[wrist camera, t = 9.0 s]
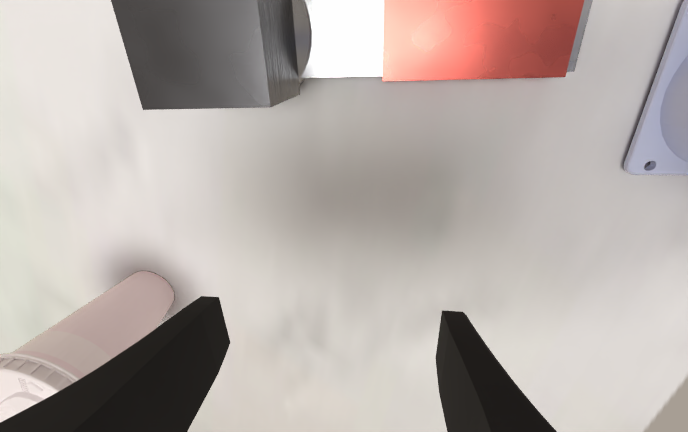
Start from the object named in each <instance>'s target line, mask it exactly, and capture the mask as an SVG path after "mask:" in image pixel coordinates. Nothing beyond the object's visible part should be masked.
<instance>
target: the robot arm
mask: <svg viewBox="0 0 688 432" xmlns="http://www.w3.org/2000/svg"><path fill="white" fill-rule="evenodd" d="M649 161H651V162H650V165H649V166H648V167H646V168H644V165H645V164H646V163H647V162H649ZM624 170H625V171H626V172H628V173H630V174H634V175H688V0H684V1H683V2H682V5H681V8H680V10H679V13H678V16H677V19H676V21H675V24H674V27H673V30H672V32H671V35H670V38H669V41H668V44H667V46H666V49H665V52H664V55H663V57H662V60H661V63H660V66H659V68H658V71H657V74H656V77H655V79H654V82H653V85H652V88H651V90H650V93H649V96H648V99H647V101H646V104H645V107H644V110H643V113H642V115H641V118H640V121H639V124H638V126H637V129H636V132H635V135H634V137H633V140H632V143H631V146H630V148H629V151H628V154H627V157H626V159H625V162H624ZM229 344H230V340H229V336H228V332H227V328H226V324H225V320H224V316H223V312H222V308H221V304H220V300H219V297H204V296H201V297H200V298H198V299H197V300H195V301H194V302H192V303H191V304H189V305H188V306H187V307H185V308H184V309H182V310H181V311H180V312H178V313H177V314H175V315H174V316H173V317H171V318H170V319H169V320H167V321H166V322H164V323H163V324H162V325H160V326H159V327H157V328H156V329H155V330H153V331H152V332H150V333H149V334H148V335H146V336H145V337H143V338H142V339H141V340H139V341H138V342H136V343H135V344H133V345H132V346H130V347H129V348H127V349H126V350H124V351H123V352H121V353H120V354H118V355H117V356H115V357H114V358H112V359H111V360H109V361H108V362H106V363H105V364H103V365H102V366H100V367H99V368H97V369H95V370H94V371H92V372H91V373H89V374H87V375H86V376H84V377H82V378H81V379H79V380H78V381H76V382H74V383H72V384H71V385H69V386H67V387H65V388H64V389H62V390H60V391H59V392H57V393H55V394H53V395H52V396H50V397H48V398H46V399H44V400H42V401H40V402H39V403H37V404H35V405H33V406H31V407H29V408H27V409H25V410H23V411H21V412H20V413H18V414H16V415H14V416H12V417H10V418H8V419H6V420H4V421H2V422H0V432H187V431H188V429H189V427H190V425H191V423H192V421H193V419H194V418H195V416H196V414H197V412H198V410H199V408H200V407H201V405H202V403H203V401H204V399H205V397H206V395H207V393H208V392H209V390H210V388H211V386H212V384H213V382H214V380H215V378H216V376H217V374H218V372H219V370H220V367H221V365H222V363H223V360H224V358H225V355H226V352H227V349H228V347H229ZM436 366H437V376H438V385H439V393H440V398H441V403H442V408H443V412H444V417H445V422H446V426H447V431H448V432H556V430H555V429H554V428H553V427H552V426H551V425H550V424H549V423H548V422H547V420H546V419H545V418H544V417H543V416H542V415H541V414H540V413H539V411H538V410H537V409H536V408H535V407H534V406H533V404H532V403H531V402H530V401H529V400H528V398H527V397H526V396H525V395H524V394H523V392H522V391H521V390H520V389H519V388H518V386H517V385H516V384H515V383H514V381H513V380H512V379H511V378H510V376H509V375H508V374H507V372H506V371H505V370H504V368H503V367H502V366H501V364H500V363H499V362H498V361H497V359H496V358H495V357H494V355H493V354H492V352H491V351H490V350H489V348H488V347H487V345H486V344H485V343H484V341H483V340H482V338H481V337H480V335H479V334H478V333H477V331H476V330H475V328H474V327H473V325H472V324H471V322H470V320H469V319H468V317H467V316H466V315H465V314H464V313H463V312H455V311H442V316H441V323H440V331H439V338H438V345H437V353H436Z"/></svg>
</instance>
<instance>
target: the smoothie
mask: <svg viewBox="0 0 688 432" xmlns="http://www.w3.org/2000/svg"><path fill="white" fill-rule="evenodd" d="M173 302H174V292H173V289H172V287H171V286H170V284H169V283H168V282H167V281H166V280H165V279H163V278H162V277H161V276H159V275H157V274H155V273H152V272H148V271H139V272H136V273H134V274H132V275H131V276H129V277H128V278H126V279H125V280H123V281H122V282H120V283H118V284H117V285H115V286H114V287H112V288H111V289H109V290H108V291H106V292H105V293H103V294H101V295H100V296H98V297H97V298H95V299H94V300H92V301H91V302H89V303H88V304H86V305H85V306H83V307H81V308H80V309H78V310H77V311H75V312H74V313H72V314H71V315H69V316H68V317H66V318H64V319H63V320H61V321H60V322H58V323H57V324H55V325H54V326H52V327H51V328H49V329H48V330H46V331H44V332H43V333H41V334H39V335H38V336H36V337H35V338H33V339H32V340H30V341H29V342H27V343H26V344H24V345H23V346H21V347H20V348H18V349H17V350H15V351H14V352H12V353H5V354H0V422H2V421H4V420H6V419H8V418H10V417H12V416H14V415H16V414H18V413H20V412H21V411H23V410H25V409H27V408H29V407H31V406H33V405H35V404H37V403H39V402H40V401H42V400H44V399H46V398H48V397H50V396H52V395H53V394H55V393H57V392H59V391H60V390H62V389H64V388H65V387H67V386H69V385H71V384H72V383H74V382H76V381H78V380H79V379H81V378H82V377H84V376H86V375H87V374H89V373H91V372H92V371H94V370H95V369H97V368H99V367H100V366H102V365H103V364H105V363H106V362H108V361H109V360H111V359H112V358H114V357H115V356H117V355H118V354H120V353H121V352H123V351H124V350H126V349H127V348H129V347H130V346H132V345H133V344H135V343H136V342H138V341H139V340H141V339H142V338H143V337H145V336H146V335H148V334H149V333H150V332H152V331H153V330H155V329H156V328H157V327H158V325H159V323H160V322H161V320H162V319H163V317H164V316H165V314H166V313H167V311H168V310H169V308H170V307H171V305H172V303H173Z"/></svg>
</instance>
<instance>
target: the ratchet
mask: <svg viewBox="0 0 688 432" xmlns="http://www.w3.org/2000/svg"><path fill="white" fill-rule="evenodd" d="M591 4H592V0H292V7H293V18H294V30H295V41H296V53H297V65H298V76H299V85H300V84H301V83H302V82H303V80H304V79H305V78H325V77H366V76H382V81H413V80H457V79H501V78H545V77H565V76H566V72H570V71H574V70H575V66H576V62H577V58H578V54H579V50H580V47H581V43H582V39H583V35H584V31H585V27H586V23H587V20H588V16H589V12H590V8H591Z"/></svg>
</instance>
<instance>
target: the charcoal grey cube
mask: <svg viewBox="0 0 688 432" xmlns="http://www.w3.org/2000/svg"><path fill="white" fill-rule="evenodd" d="M111 2H112V5H113V8H114V12H115V15H116V19H117V22H118V25H119V29H120V32H121V36H122V39H123V43H124V46H125V49H126V53H127V56H128V60H129V63H130V67H131V70H132V73H133V77H134V80H135V84H136V87H137V91H138V94H139V97H140V101H141V104H142V108H143V110H149V109H202V108H255V107H272V106H274V105H277V104H279V103H281V102H284V101H286V100H288V99H290V98H293V97H295V96H297V95H300V87H299V76H298V65H297V53H296V41H295V30H294V18H293V7H292V0H111Z"/></svg>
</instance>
